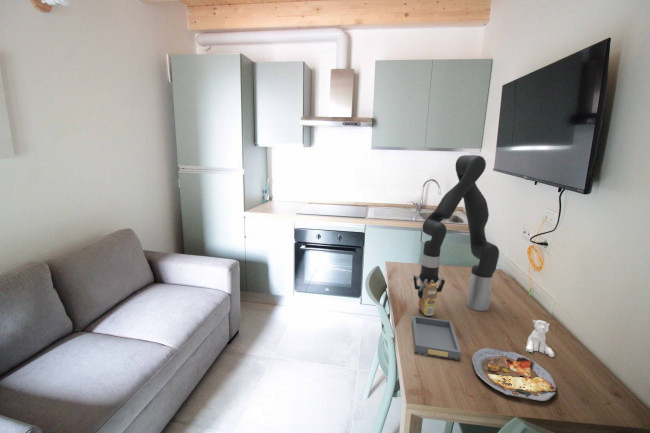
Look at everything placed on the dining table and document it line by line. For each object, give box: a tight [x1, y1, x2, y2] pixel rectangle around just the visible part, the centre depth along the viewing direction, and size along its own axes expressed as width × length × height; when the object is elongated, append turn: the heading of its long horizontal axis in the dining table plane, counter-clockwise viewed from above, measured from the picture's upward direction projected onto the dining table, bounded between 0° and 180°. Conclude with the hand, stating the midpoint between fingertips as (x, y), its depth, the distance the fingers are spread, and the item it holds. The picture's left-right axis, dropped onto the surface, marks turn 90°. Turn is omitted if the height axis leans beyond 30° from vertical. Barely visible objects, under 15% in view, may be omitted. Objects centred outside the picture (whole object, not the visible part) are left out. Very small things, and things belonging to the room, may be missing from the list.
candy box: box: [417, 279, 438, 317], centre depth 141 cm, size 9×4×15 cm, turn 8°
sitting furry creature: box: [525, 319, 555, 358], centre depth 120 cm, size 10×9×12 cm
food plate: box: [471, 347, 558, 402], centre depth 106 cm, size 25×23×4 cm
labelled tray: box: [411, 315, 462, 361], centre depth 124 cm, size 16×21×4 cm
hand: (426, 298), depth 142 cm, fingers closed on candy box, 5 cm apart
